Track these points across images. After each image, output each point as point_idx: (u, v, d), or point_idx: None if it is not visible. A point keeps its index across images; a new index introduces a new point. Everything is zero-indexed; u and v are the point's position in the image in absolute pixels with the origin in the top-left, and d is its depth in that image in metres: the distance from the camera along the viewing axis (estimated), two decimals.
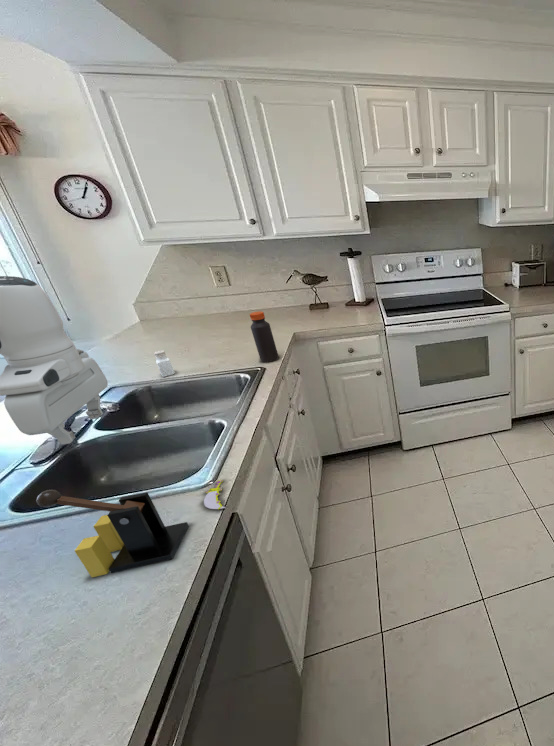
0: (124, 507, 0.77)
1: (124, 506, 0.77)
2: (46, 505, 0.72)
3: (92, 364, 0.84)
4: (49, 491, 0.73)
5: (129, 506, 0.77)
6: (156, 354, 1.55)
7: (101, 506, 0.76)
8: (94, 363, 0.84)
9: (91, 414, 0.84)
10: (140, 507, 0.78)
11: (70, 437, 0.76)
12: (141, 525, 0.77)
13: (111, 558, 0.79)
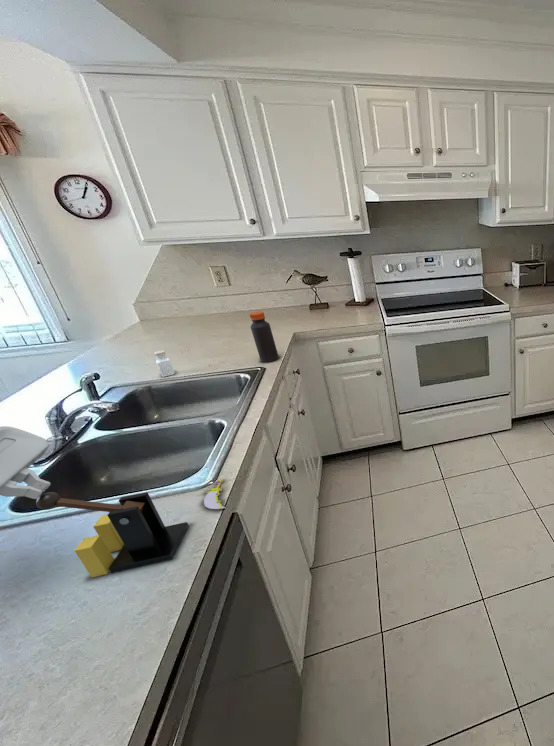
0: (124, 507, 0.77)
1: (124, 506, 0.77)
2: (46, 507, 0.72)
3: None
4: (48, 493, 0.73)
5: (129, 506, 0.77)
6: (156, 354, 1.55)
7: (101, 507, 0.76)
8: None
9: None
10: (140, 507, 0.78)
11: None
12: (141, 525, 0.77)
13: (111, 558, 0.79)
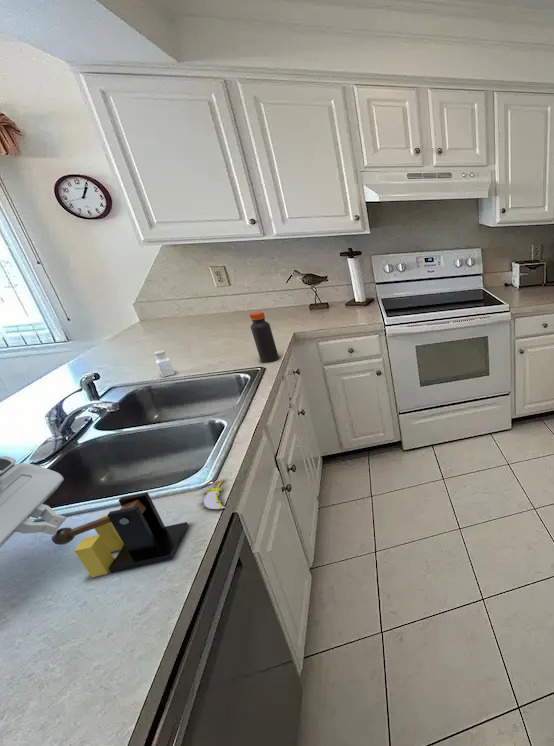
0: None
1: None
2: (62, 541, 0.75)
3: None
4: None
5: (124, 508, 0.77)
6: (156, 354, 1.55)
7: (104, 520, 0.77)
8: None
9: None
10: (133, 504, 0.78)
11: None
12: (141, 525, 0.77)
13: (111, 558, 0.79)
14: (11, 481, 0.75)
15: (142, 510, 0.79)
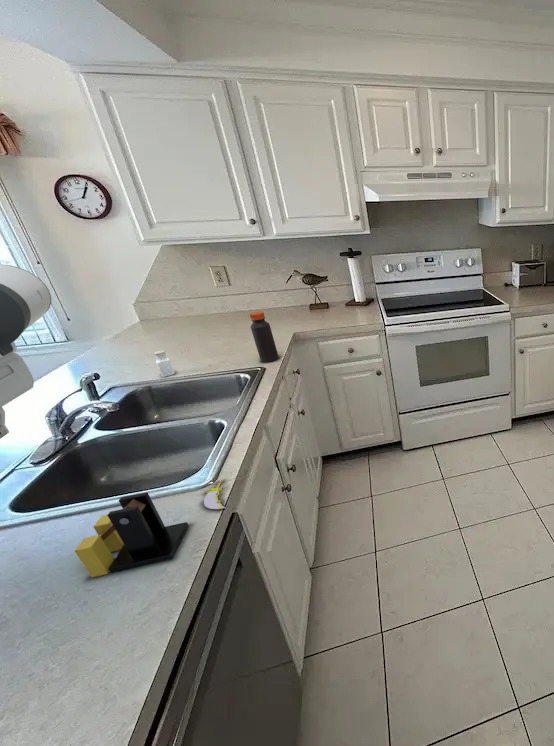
0: None
1: None
2: None
3: None
4: None
5: None
6: (156, 354, 1.55)
7: (112, 526, 0.78)
8: None
9: None
10: (129, 504, 0.77)
11: None
12: (141, 525, 0.77)
13: (111, 558, 0.79)
14: None
15: (141, 507, 0.79)
